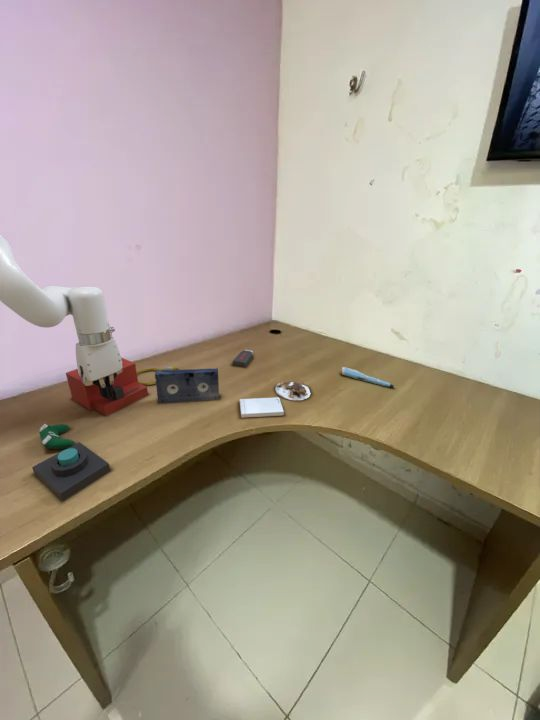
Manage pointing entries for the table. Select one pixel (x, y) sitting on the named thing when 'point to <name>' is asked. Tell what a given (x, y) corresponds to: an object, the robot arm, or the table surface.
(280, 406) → the hard drive
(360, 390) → the table surface
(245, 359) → the usb drive
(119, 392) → the toaster slider
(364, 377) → the light blue tapered rod
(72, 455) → the button
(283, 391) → the plate of food
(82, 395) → the toaster
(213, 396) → the vhs cassette tape
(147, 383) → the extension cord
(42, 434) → the green piece
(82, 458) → the control block
